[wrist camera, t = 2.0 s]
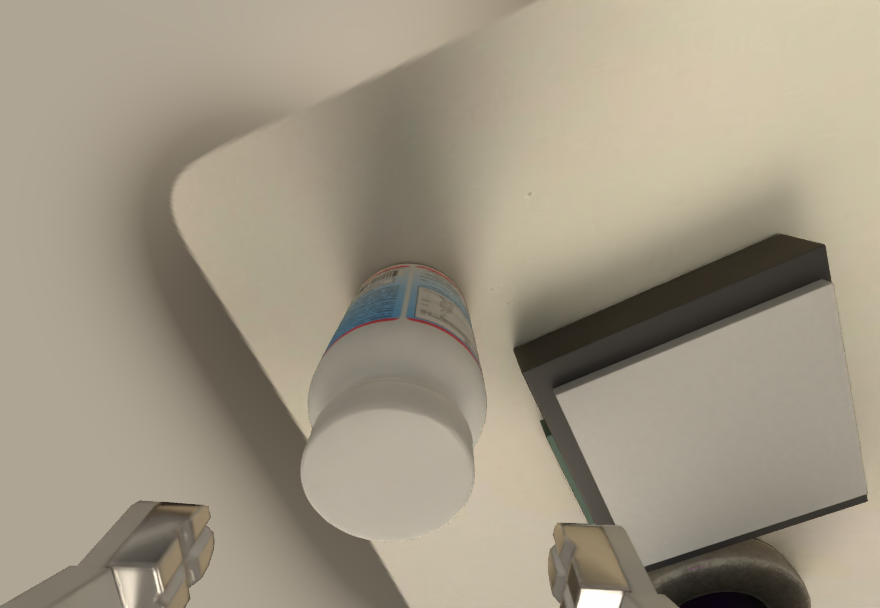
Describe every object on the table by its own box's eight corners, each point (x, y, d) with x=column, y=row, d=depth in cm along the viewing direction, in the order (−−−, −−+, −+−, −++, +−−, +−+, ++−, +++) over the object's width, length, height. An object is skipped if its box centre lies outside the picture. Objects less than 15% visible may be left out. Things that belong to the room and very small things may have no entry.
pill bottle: (357, 369, 22) (285, 564, 12) (348, 260, 20) (250, 380, 10) (468, 369, 22) (495, 563, 12) (471, 260, 20) (507, 379, 10)
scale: (506, 351, 22) (517, 381, 19) (780, 232, 20) (839, 247, 17) (601, 545, 27) (621, 593, 24) (828, 468, 25) (879, 510, 22)
